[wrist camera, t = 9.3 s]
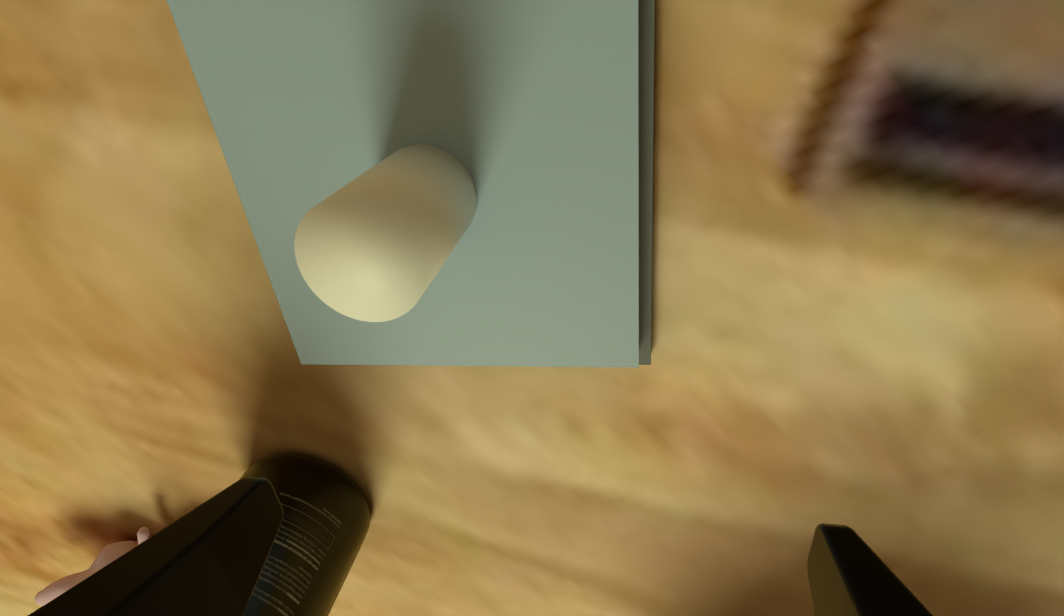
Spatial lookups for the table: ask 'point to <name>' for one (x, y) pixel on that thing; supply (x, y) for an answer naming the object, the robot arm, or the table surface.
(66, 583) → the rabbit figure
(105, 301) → the table surface
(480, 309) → the lid
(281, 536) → the supplement bottle
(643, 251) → the mat
